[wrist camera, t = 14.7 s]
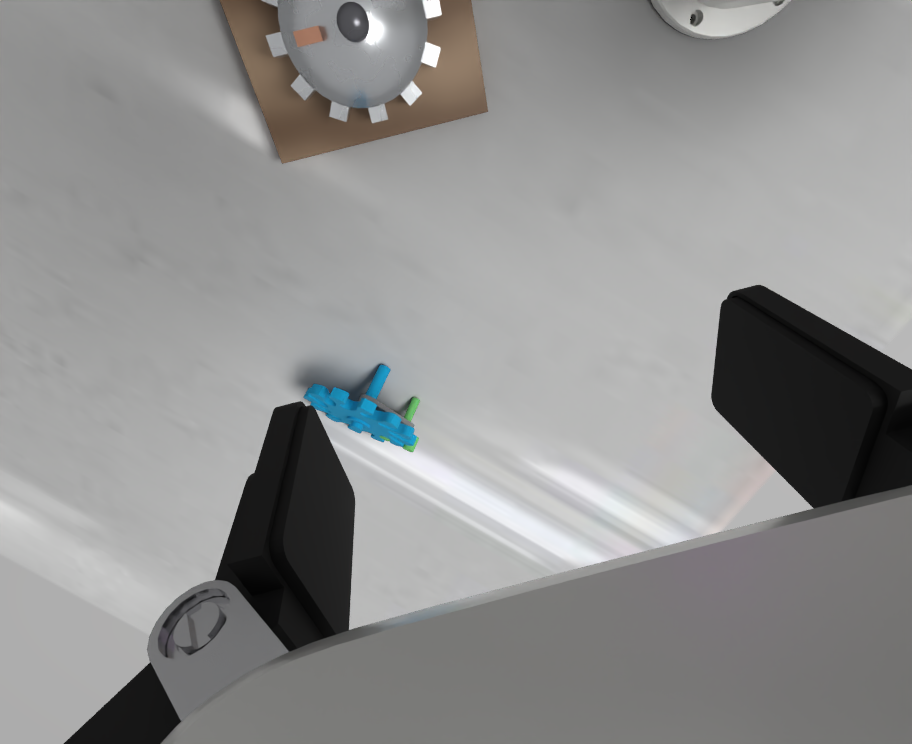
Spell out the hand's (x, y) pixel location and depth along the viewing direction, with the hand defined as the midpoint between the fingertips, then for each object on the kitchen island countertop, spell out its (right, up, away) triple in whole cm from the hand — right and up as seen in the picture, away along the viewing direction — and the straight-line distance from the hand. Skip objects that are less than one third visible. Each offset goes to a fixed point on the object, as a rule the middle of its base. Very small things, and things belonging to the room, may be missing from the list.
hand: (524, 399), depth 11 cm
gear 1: (-7, +21, +18) cm, 28 cm away
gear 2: (-10, -1, +33) cm, 35 cm away
